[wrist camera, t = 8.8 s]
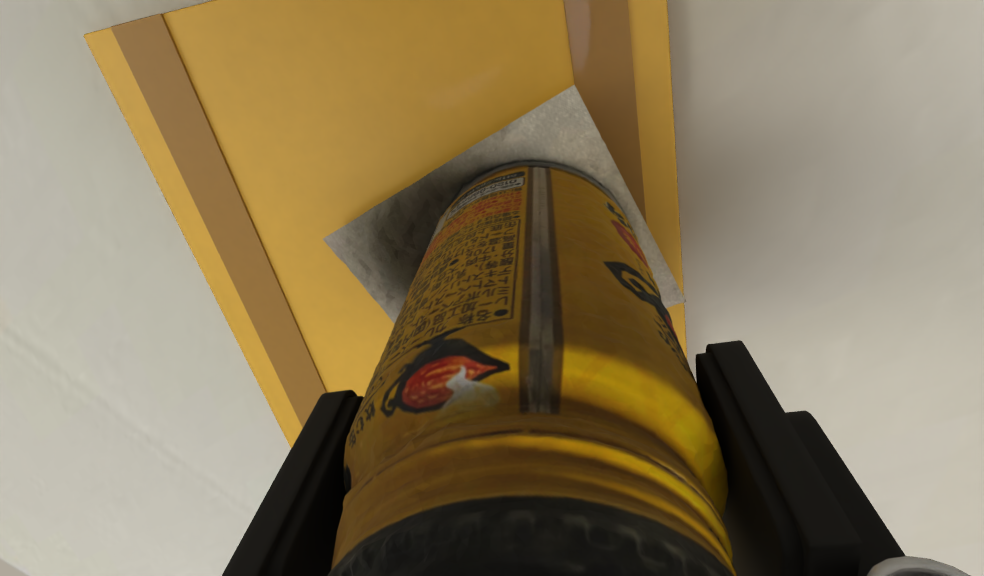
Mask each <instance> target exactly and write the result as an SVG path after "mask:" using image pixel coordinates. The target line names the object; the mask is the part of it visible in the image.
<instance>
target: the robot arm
mask: <svg viewBox="0 0 984 576" xmlns="http://www.w3.org/2000/svg"><path fill="white" fill-rule="evenodd" d="M696 379H697V386H698V388H699V391H700V394H701V397H702V400H703V403H704V406H705V408H706V410H707V412H708V414H709V416H710V418H711V419H712V423H713V426H714V430H715V433H716V436H717V439H718V442H719V444H720V447H721V450H722V455H723V459H724V463H725V467H726V469H727V480H728V495H727V500H726V507H725V511H724V513H723V516H722V519H723V522H724V524H725V527H726V529H727V531H728V536H729V540H730V543H731V547H732V555H733V556H732V562H733V566H734V568H735V570H736V573H737V576H970V575H968V574H966V573H964V572H963V571H961V570H959V569H957V568H955V567H953V566H950V565H947V564H944V563H941V562H938V561H934V560H931V559H927V558H918V557H910V556H905V554H904V553H903V551H902V550H901V548H900V547H899V545H898V544H897V542H896V541H895V539H894V538H893V536H892V535H891V533H890V532H889V530H888V529H887V527H886V526H885V524H884V523H883V521H882V519H881V518H880V516H879V515H878V513H877V512H876V510H875V509H874V507H873V506H872V504H871V503H870V501H869V500H868V498H867V497H866V495H865V494H864V492H863V491H862V489H861V488H860V486H859V485H858V483H857V482H856V480H855V479H854V477H853V476H852V474H851V473H850V471H849V469H848V468H847V466H846V465H845V463H844V462H843V460H842V459H841V457H840V456H839V454H838V453H837V451H836V450H835V448H834V447H833V445H832V444H831V442H830V441H829V439H828V438H827V436H826V435H825V433H824V432H823V430H822V429H821V427H820V426H819V424H818V423H817V421H816V420H815V418H814V417H813V416H812V415H811V414H810V413H809V412H807V411H797V412H787V413H785V412H784V410H783V409H782V407H781V405H780V404H779V402H778V400H777V399H776V397H775V395H774V394H773V392H772V390H771V389H770V387H769V385H768V384H767V382H766V380H765V379H764V377H763V375H762V373H761V372H760V370H759V368H758V367H757V365H756V363H755V362H754V360H753V358H752V357H751V355H750V353H749V352H748V350H747V348H746V347H745V345H744V344H743V342H742V341H740V340H739V341H731V342H723V343H715V344H708V345H707V347H706V353H702V354H697V355H696ZM363 399H364V397H363V396H357V394H356V393H355V392H354V391H353V390H344V391H336V392H328V393H324V394H322V395H321V396H320V398H319V399H318V401H317V403H316V405H315V407H314V409H313V410H312V412H311V414H310V416H309V418H308V419H307V421H306V423H305V425H304V427H303V429H302V430H301V432H300V434H299V436H298V438H297V440H296V441H295V443H294V445H293V447H292V449H291V450H290V452H289V454H288V456H287V458H286V460H285V461H284V463H283V465H282V467H281V469H280V471H279V472H278V474H277V476H276V478H275V480H274V481H273V483H272V485H271V487H270V489H269V491H268V492H267V494H266V496H265V498H264V500H263V502H262V503H261V505H260V507H259V509H258V511H257V512H256V514H255V516H254V518H253V520H252V522H251V523H250V525H249V527H248V529H247V531H246V533H245V534H244V536H243V538H242V540H241V542H240V543H239V545H238V547H237V549H236V551H235V553H234V554H233V556H232V558H231V560H230V562H229V564H228V565H227V567H226V569H225V571H224V573H223V574H222V576H327V575H328V574H329V573H330V571H331V568H332V561H333V555H334V548H335V542H336V535H337V530H338V526H339V523H340V519H341V516H342V512H343V501H344V498H345V495H346V491H345V485H344V478H343V466H344V454H345V445H346V440H347V436H348V434H349V433H350V429H351V426H352V424H353V421H354V419H355V417H356V414H357V412H358V410H359V407H360V405H361V402H362V401H363Z"/></svg>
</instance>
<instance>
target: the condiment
mask: <svg viewBox="0 0 984 576" xmlns="http://www.w3.org/2000/svg"><path fill="white" fill-rule="evenodd" d="M323 240H324V241H325V243H326V244H327V245H328V246H329V247H330V248H331V249H332V251H333V252H334V253H335V255H336V256H337V257H338V258H339V259H340V260H341V261H343V262H344V263H345V264H346V265H347V267H348V268H349V270H350V271H351V272H352V273H353V275H354V276H355V277H356V278H357V279H358V280H359V282H360V283H361V284H362V285H363V286H364V288H365V289H366V290H367V292H368V293H369V294H370V295H371V296H372V298H373V299H374V300H375V301H376V302H377V303H378V304H379V305H380V306H381V308H382V309H383V310H384V311H385V313H386V314H387V315H388V317H389V318H390V319H391V320H392V322H393V323H394V327H393V330H392V332H391V335H390V337H389V340H388V342H387V344H386V347H385V349H384V351H383V353H382V356H381V358H380V361H379V363H378V365H377V366H376V368H375V371H374V373H373V377H372V378H371V381H370V383H369V386H368V388H367V390H366V393H365V396H364V399H363V401H362V402H361V405H360V407H359V410H358V412H357V414H356V417H355V419H354V421H353V424H352V426H351V429H350V433H349V434H348V436H347V440H346V445H345V454H344V466H343V478H344V485H345V491H346V495H345V498H344V501H343V512H342V516H341V519H340V523H339V526H338V530H337V535H336V542H335V548H334V555H333V561H332V568H331V571H330V573H329V574H328V575H327V576H737V573H736V570H735V568H734V566H733V562H732V556H733V555H732V547H731V543H730V540H729V536H728V531H727V529H726V527H725V524H724V522H723V519H722V516H723V513H724V511H725V507H726V500H727V495H728V480H727V469H726V467H725V463H724V459H723V455H722V450H721V447H720V444H719V442H718V439H717V436H716V433H715V430H714V426H713V423H712V419H711V418H710V416H709V414H708V412H707V410H706V408H705V406H704V403H703V400H702V397H701V394H700V391H699V388H698V386H697V383H696V381H695V379H694V376H693V374H692V372H691V370H690V367H689V364H688V362H687V359H686V357H685V355H684V352H683V350H682V347H681V345H680V343H679V341H678V338H677V335H676V332H675V331H674V328H673V325H672V320H671V317H670V314H669V312H668V310H667V309H666V308H668V307H671V306H673V305H676V304H680V303H684V302H686V300H685V298H684V296H683V294H682V293H681V291H680V289H679V287H678V285H677V283H676V281H675V279H674V277H673V275H672V273H671V271H670V269H669V267H668V265H667V263H666V261H665V259H664V258H663V256H662V254H661V252H660V250H659V248H658V246H657V244H656V242H655V240H654V238H653V236H652V234H651V232H650V230H649V228H648V226H647V224H646V222H645V221H644V219H643V216H642V215H641V213H640V211H639V209H638V207H637V205H636V203H635V201H634V199H633V197H632V195H631V193H630V191H629V189H628V188H627V186H626V184H625V182H624V180H623V178H622V176H621V174H620V172H619V170H618V168H617V166H616V164H615V162H614V160H613V158H612V156H611V155H610V153H609V151H608V149H607V146H606V144H605V143H604V141H603V140H602V138H601V136H600V133H599V131H598V129H597V128H596V126H595V124H594V122H593V120H592V118H591V116H590V114H589V112H588V110H587V108H586V106H585V104H584V102H583V100H582V98H581V96H580V94H579V92H578V90H577V89H576V87H575V85H573V86H571V87H570V88H568V89H566V90H565V91H563V92H561V93H560V94H558V95H556V96H555V97H553V98H551V99H550V100H548V101H546V102H545V103H543V104H541V105H540V106H538V107H536V108H535V109H533V110H532V111H530V112H528V113H526V114H525V115H523V116H521V117H520V118H518V119H516V120H515V121H513V122H511V123H510V124H508V125H507V126H505V127H504V128H502V129H501V130H499V131H497V132H496V133H494V134H492V135H490V136H489V137H487V138H485V139H484V140H482V141H480V142H479V143H477V144H475V145H474V146H472V147H470V148H469V149H467V150H466V151H465V152H463V153H461V154H459V155H457V156H456V157H454V158H453V159H451V160H450V161H448V162H446V163H445V164H443V165H442V166H440V167H439V168H437V169H435V170H433V171H432V172H430V173H429V174H427V175H426V176H424V177H423V178H421V179H420V180H418V181H416V182H415V183H413V184H412V185H410V186H409V187H406V188H404V189H403V190H401V191H399V192H398V193H396V194H395V195H393V196H391V197H390V198H388V199H386V200H385V201H383V202H381V203H380V204H378V205H376V206H374V207H373V208H371V209H370V210H368V211H367V212H365V213H364V214H362V215H360V216H359V217H357V218H356V219H354V220H353V221H351V222H350V223H348V224H346V225H345V226H343V227H341V228H340V229H338V230H336V231H335V232H333V233H331V234H330V235H328V236H326V237H325V238H323Z"/></svg>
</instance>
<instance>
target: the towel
mask: <svg viewBox="0 0 984 576" xmlns="http://www.w3.org/2000/svg"><path fill="white" fill-rule="evenodd" d="M84 38H85V40H86V42H87V44H88V46H89V48H90V50H91V52H92V54H93V56H94V58H95V60H96V62H97V64H98V66H99V68H100V70H101V72H102V74H103V76H104V78H105V80H106V82H107V84H108V86H109V88H110V89H111V91H112V93H113V95H114V97H115V99H116V101H117V103H118V105H119V107H120V109H121V111H122V113H123V115H124V117H125V119H126V121H127V123H128V125H129V127H130V129H131V131H132V133H133V135H134V137H135V139H136V141H137V143H138V145H139V147H140V149H141V151H142V153H143V155H144V157H145V159H146V161H147V163H148V165H149V167H150V169H151V171H152V173H153V175H154V177H155V179H156V181H157V183H158V185H159V187H160V189H161V191H162V193H163V195H164V197H165V199H166V201H167V203H168V205H169V207H170V209H171V211H172V213H173V215H174V217H175V219H176V221H177V223H178V225H179V227H180V229H181V231H182V233H183V235H184V237H185V239H186V241H187V243H188V244H189V246H190V248H191V250H192V252H193V254H194V256H195V258H196V260H197V262H198V264H199V266H200V268H201V270H202V272H203V274H204V276H205V278H206V280H207V282H208V284H209V286H210V288H211V290H212V292H213V294H214V296H215V298H216V300H217V302H218V304H219V306H220V308H221V310H222V312H223V314H224V316H225V318H226V320H227V322H228V324H229V326H230V328H231V330H232V332H233V334H234V336H235V338H236V340H237V342H238V344H239V346H240V348H241V350H242V352H243V354H244V356H245V358H246V360H247V362H248V364H249V366H250V368H251V370H252V372H253V374H254V376H255V378H256V380H257V382H258V384H259V386H260V388H261V390H262V392H263V394H264V396H265V397H266V399H267V401H268V403H269V405H270V407H271V409H272V411H273V413H274V415H275V417H276V419H277V421H278V423H279V425H280V427H281V429H282V431H283V433H284V435H285V437H286V439H287V441H288V443H289V445H290V447H291V449H292V447H293V445H294V443H295V441H296V440H297V438H298V436H299V434H300V432H301V430H302V429H303V427H304V425H305V423H306V421H307V419H308V418H309V416H310V414H311V412H312V410H313V409H314V407H315V405H316V403H317V401H318V399H319V398H320V396H321V395H322V394H324V393H328V392H336V391H344V390H353V391H354V392H355V393H356V394H357V396H363V397H364V396H365V393H366V390H367V388H368V386H369V383H370V381H371V378H372V377H373V373H374V371H375V368H376V366H377V365H378V363H379V361H380V358H381V356H382V353H383V351H384V349H385V347H386V344H387V342H388V340H389V337H390V335H391V332H392V330H393V327H394V323H393V322H392V320H391V319H390V318H389V317H388V315H387V314H386V313H385V311H384V310H383V309H382V308H381V306H380V305H379V304H378V303H377V302H376V301H375V300H374V299H373V298H372V296H371V295H370V294H369V293H368V292H367V290H366V289H365V288H364V286H363V285H362V284H361V283H360V282H359V280H358V279H357V278H356V277H355V276H354V275H353V273H352V272H351V271H350V270H349V268H348V267H347V265H346V264H345V263H344V262H343V261H341V260H340V259H339V258H338V257H337V256H336V255H335V253H334V252H333V251H332V249H331V248H330V247H329V246H328V245H327V244H326V243H325V241H324V240H323V238H325V237H326V236H328V235H330V234H331V233H333V232H335V231H336V230H338V229H340V228H341V227H343V226H345V225H346V224H348V223H350V222H351V221H353V220H354V219H356V218H357V217H359V216H360V215H362V214H364V213H365V212H367V211H368V210H370V209H371V208H373V207H374V206H376V205H378V204H380V203H381V202H383V201H385V200H386V199H388V198H390V197H391V196H393V195H395V194H396V193H398V192H399V191H401V190H403V189H404V188H406V187H409V186H410V185H412V184H413V183H415V182H416V181H418V180H420V179H421V178H423V177H424V176H426V175H427V174H429V173H430V172H432V171H433V170H435V169H437V168H439V167H440V166H442V165H443V164H445V163H446V162H448V161H450V160H451V159H453V158H454V157H456V156H457V155H459V154H461V153H463V152H465V151H466V150H467V149H469V148H470V147H472V146H474V145H475V144H477V143H479V142H480V141H482V140H484V139H485V138H487V137H489V136H490V135H492V134H494V133H496V132H497V131H499V130H501V129H502V128H504V127H505V126H507V125H508V124H510V123H511V122H513V121H515V120H516V119H518V118H520V117H521V116H523V115H525V114H526V113H528V112H530V111H532V110H533V109H535V108H536V107H538V106H540V105H541V104H543V103H545V102H546V101H548V100H550V99H551V98H553V97H555V96H556V95H558V94H560V93H561V92H563V91H565V90H566V89H568V88H570V87H571V86H573V85H575V87H576V89H577V90H578V92H579V94H580V96H581V98H582V100H583V102H584V104H585V106H586V108H587V110H588V112H589V114H590V116H591V118H592V120H593V122H594V124H595V126H596V128H597V129H598V131H599V133H600V136H601V138H602V140H603V141H604V143H605V144H606V146H607V149H608V151H609V153H610V155H611V156H612V158H613V160H614V162H615V164H616V166H617V168H618V170H619V172H620V174H621V176H622V178H623V180H624V182H625V184H626V186H627V188H628V189H629V191H630V193H631V195H632V197H633V199H634V201H635V203H636V205H637V207H638V209H639V211H640V213H641V215H642V216H643V219H644V221H645V222H646V224H647V226H648V228H649V230H650V232H651V234H652V236H653V238H654V240H655V242H656V244H657V246H658V248H659V250H660V252H661V254H662V256H663V258H664V259H665V261H666V263H667V265H668V267H669V269H670V271H671V273H672V275H673V277H674V279H675V281H676V283H677V285H678V287H679V289H680V291H681V293H682V294H683V296H684V293H683V275H682V257H681V239H680V222H679V204H678V186H677V168H676V150H675V132H674V114H673V96H672V78H671V60H670V42H669V24H668V6H667V0H213V1H209V2H206V3H202V4H198V5H194V6H190V7H186V8H183V9H179V10H175V11H171V12H167V13H164V14H157V15H153V16H150V17H146V18H142V19H138V20H134V21H131V22H127V23H123V24H119V25H115V26H112V27H110V28H107V29H103V30H99V31H95V32H91V33H87V34H84ZM666 309H667V310H668V312H669V314H670V317H671V320H672V325H673V328H674V331H675V332H676V335H677V338H678V341H679V343H680V345H681V347H682V350H683V352H684V355H685V357H686V359H687V347H686V329H685V311H684V303H680V304H676V305H673V306H671V307H668V308H666Z"/></svg>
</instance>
